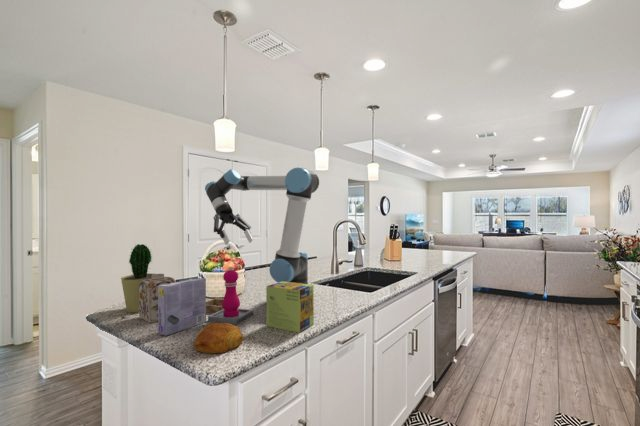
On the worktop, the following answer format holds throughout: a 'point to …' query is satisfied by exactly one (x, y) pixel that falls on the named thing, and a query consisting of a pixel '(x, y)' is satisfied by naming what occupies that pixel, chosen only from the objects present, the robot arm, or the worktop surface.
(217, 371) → the worktop surface
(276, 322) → the protein box
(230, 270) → the pepper mill
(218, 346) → the bread pastry
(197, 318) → the cake pan box
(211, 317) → the tray
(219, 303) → the tray
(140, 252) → the potted cactus
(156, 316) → the decorative jar
